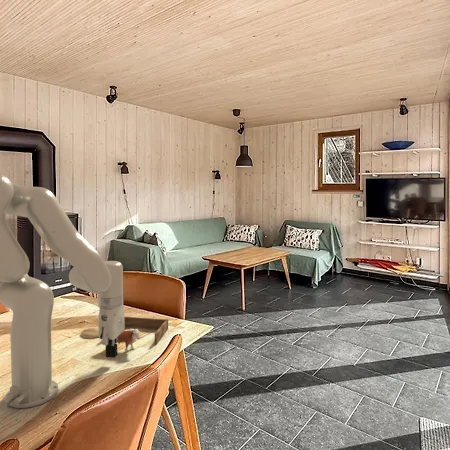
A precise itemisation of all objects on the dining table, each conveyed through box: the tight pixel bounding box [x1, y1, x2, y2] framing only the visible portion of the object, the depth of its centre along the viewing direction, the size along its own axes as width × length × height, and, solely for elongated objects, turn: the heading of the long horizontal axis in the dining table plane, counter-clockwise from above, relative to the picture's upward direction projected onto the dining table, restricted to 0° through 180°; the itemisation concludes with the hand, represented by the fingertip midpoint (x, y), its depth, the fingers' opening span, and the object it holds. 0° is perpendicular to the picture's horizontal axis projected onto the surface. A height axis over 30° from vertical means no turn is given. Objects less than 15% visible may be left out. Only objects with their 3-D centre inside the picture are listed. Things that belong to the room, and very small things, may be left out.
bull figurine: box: [116, 328, 142, 353], centre depth 126 cm, size 4×13×8 cm, turn 79°
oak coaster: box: [80, 327, 99, 339], centre depth 140 cm, size 9×9×1 cm
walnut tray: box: [124, 316, 169, 346], centre depth 140 cm, size 16×20×4 cm
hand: (111, 356), depth 116 cm, fingers closed
